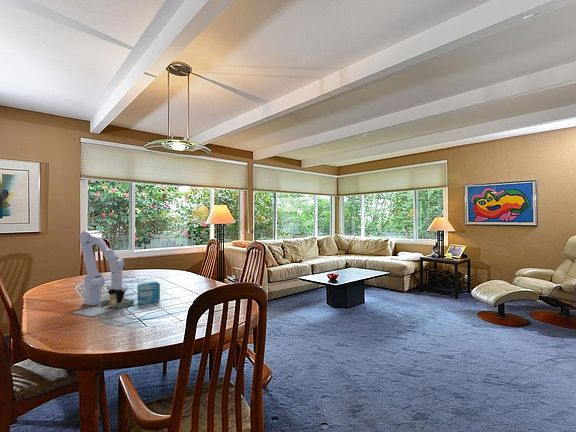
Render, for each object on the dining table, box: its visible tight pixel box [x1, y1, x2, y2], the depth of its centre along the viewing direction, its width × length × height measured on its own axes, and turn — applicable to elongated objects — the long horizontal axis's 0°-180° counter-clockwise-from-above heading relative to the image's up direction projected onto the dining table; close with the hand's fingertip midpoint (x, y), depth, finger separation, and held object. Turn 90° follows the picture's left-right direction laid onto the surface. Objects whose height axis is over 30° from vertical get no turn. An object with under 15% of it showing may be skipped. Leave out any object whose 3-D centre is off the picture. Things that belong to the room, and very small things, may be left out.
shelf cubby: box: [100, 297, 135, 310], centre depth 185 cm, size 15×10×3 cm, turn 66°
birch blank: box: [108, 293, 125, 308], centre depth 185 cm, size 4×7×7 cm, turn 156°
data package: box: [136, 281, 161, 305], centre depth 192 cm, size 12×4×12 cm, turn 124°
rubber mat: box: [72, 306, 114, 318], centre depth 172 cm, size 16×12×1 cm
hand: (116, 302), depth 185 cm, fingers closed on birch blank, 4 cm apart
